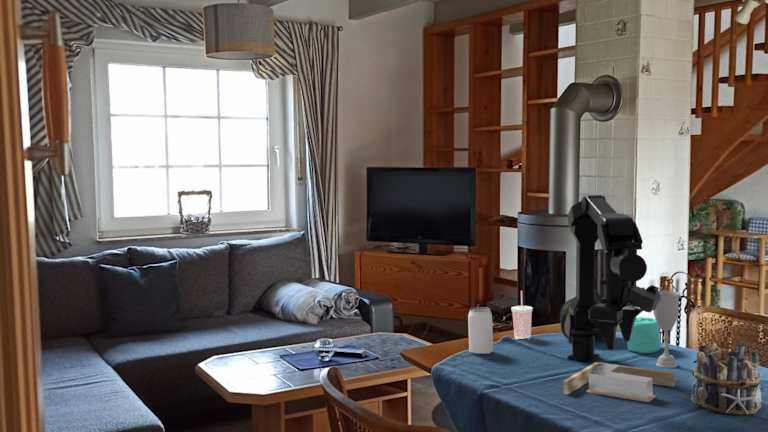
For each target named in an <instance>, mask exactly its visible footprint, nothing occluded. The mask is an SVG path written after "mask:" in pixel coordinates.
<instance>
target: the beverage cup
mask: <svg viewBox="0 0 768 432" xmlns="http://www.w3.org/2000/svg"><path fill="white" fill-rule="evenodd" d="M523 299H524V298H523V290H520V305H515V306H511V308H510V309H511V313H512V323H513V334H514V335H513V336H514V339H515V340H518V339H524V338H530V337H531V336H532V315H533V314H532V313H533V309H534V307H532V306H529V305H523V302H524V301H523ZM531 338H532V337H531ZM531 338H530V339H531Z"/></svg>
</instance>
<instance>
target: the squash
mask: <svg viewBox="0 0 768 432" xmlns="http://www.w3.org/2000/svg"><path fill="white" fill-rule="evenodd" d="M574 298H575V296H574V297H572V298H570V299H569V300H567V301H565V302H564V304H563V305H562V307H561V310H560V311H559V323H560V329H561V332H562V334H563V336H564V337H565V338H566V339H568V340H570V341H572V337H568V336H567V335H566V334H565V328H564V324H565V321H566V317H567V314H568V313H569V305H570V304H571V302H572V301H573V299H574ZM602 298H603V297H602V296H601V295H600V293H599V291H597V290H596V289H594V299H595V301H596V303H597V304H598V303H601V299H602ZM602 304H605V303H602ZM572 330H573V329H572ZM594 340H596V341H598V340H603V338H602V336H594Z"/></svg>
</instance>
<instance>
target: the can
mask: <svg viewBox="0 0 768 432" xmlns="http://www.w3.org/2000/svg"><path fill="white" fill-rule="evenodd" d="M467 318H468V319H467V321H468V322H467V323H468V325H467V326H468V352H469V353H470V352H474V353H491V352H492V353H493V352H494V340H493V339H494V337H493V334H494V333H493V332H494V331H493V315H492V311H491V308H489V307H485V306H484V307H483V306H477V307H476V306H475V307H470V308H469V312H468V315H467ZM492 353H491V354H492Z"/></svg>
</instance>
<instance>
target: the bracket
mask: <svg viewBox="0 0 768 432" xmlns="http://www.w3.org/2000/svg"><path fill="white" fill-rule="evenodd" d="M604 363H605V364H603V365H602V366H600V367H598V368H597V369H595V370H593V371H592V372H590V373H589V382H588V389H589V391H593V392H599V393H605V394H611V395H617V396H623V397H629V398H635V399H641V400H648V399H650V398H651V397H652V396H653V395H654V394H653V393H654V392H653V390H654V389H653V387H654V386H653V385H654V384H653V378H649V377H643V376H636V375H629V374H622V373H620V365H621V364H615V365H614V363H608V364H606V363H607V362H604Z"/></svg>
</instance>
